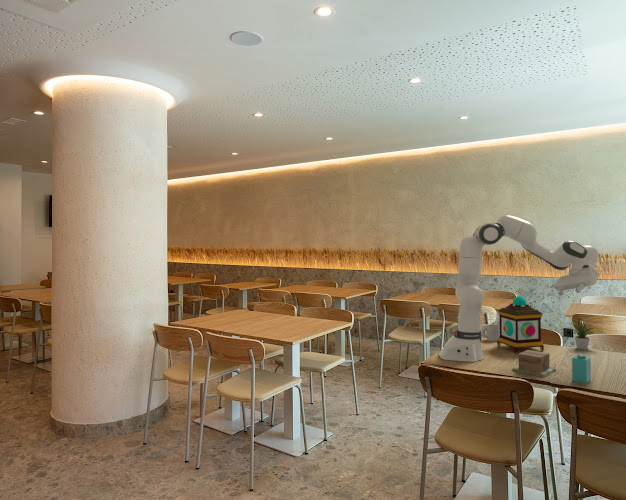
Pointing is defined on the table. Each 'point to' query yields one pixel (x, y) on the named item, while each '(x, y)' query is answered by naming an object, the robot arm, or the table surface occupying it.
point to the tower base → (534, 363)
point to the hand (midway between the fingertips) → (568, 293)
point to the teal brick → (581, 369)
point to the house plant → (582, 335)
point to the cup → (491, 333)
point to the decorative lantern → (520, 325)
